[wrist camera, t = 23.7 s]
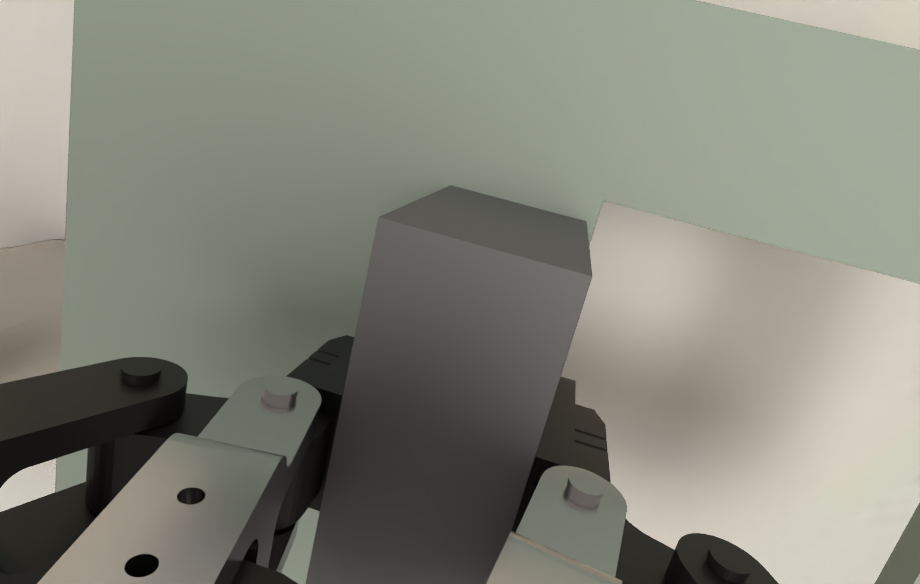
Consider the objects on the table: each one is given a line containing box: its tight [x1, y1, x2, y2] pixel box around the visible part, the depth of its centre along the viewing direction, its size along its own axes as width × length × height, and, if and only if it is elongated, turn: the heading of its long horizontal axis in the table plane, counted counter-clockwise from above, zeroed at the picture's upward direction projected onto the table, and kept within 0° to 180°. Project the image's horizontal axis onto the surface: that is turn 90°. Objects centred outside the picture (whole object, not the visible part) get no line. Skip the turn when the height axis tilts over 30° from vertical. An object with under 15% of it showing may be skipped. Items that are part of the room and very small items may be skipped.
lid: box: [55, 0, 920, 584], centre depth 12 cm, size 24×17×6 cm
